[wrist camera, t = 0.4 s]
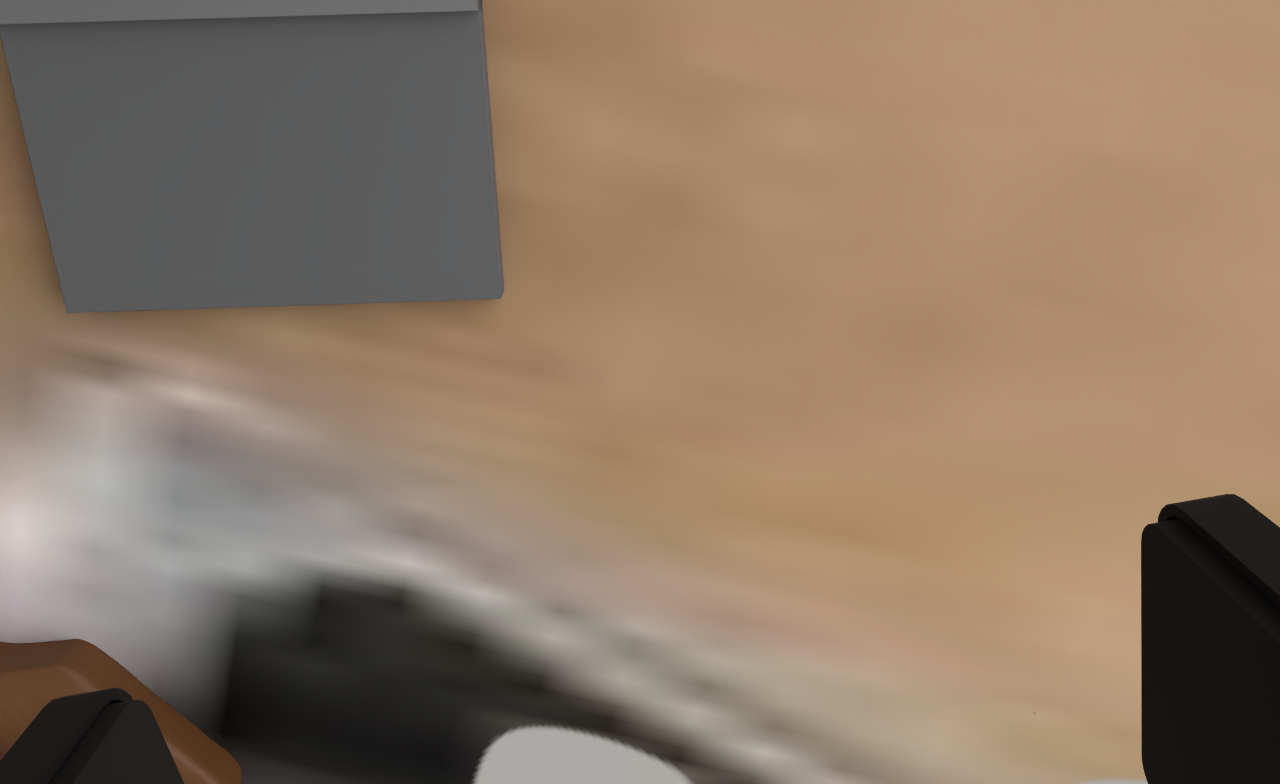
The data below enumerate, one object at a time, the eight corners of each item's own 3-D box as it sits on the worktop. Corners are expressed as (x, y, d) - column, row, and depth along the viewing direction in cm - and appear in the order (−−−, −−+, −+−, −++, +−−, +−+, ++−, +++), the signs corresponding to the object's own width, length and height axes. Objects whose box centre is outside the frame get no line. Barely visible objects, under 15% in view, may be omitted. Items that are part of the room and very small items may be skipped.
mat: (10, -8, 34) (-21, -9, 32) (480, -21, 34) (473, -23, 33) (82, 303, 38) (58, 317, 36) (503, 290, 38) (499, 302, 37)
